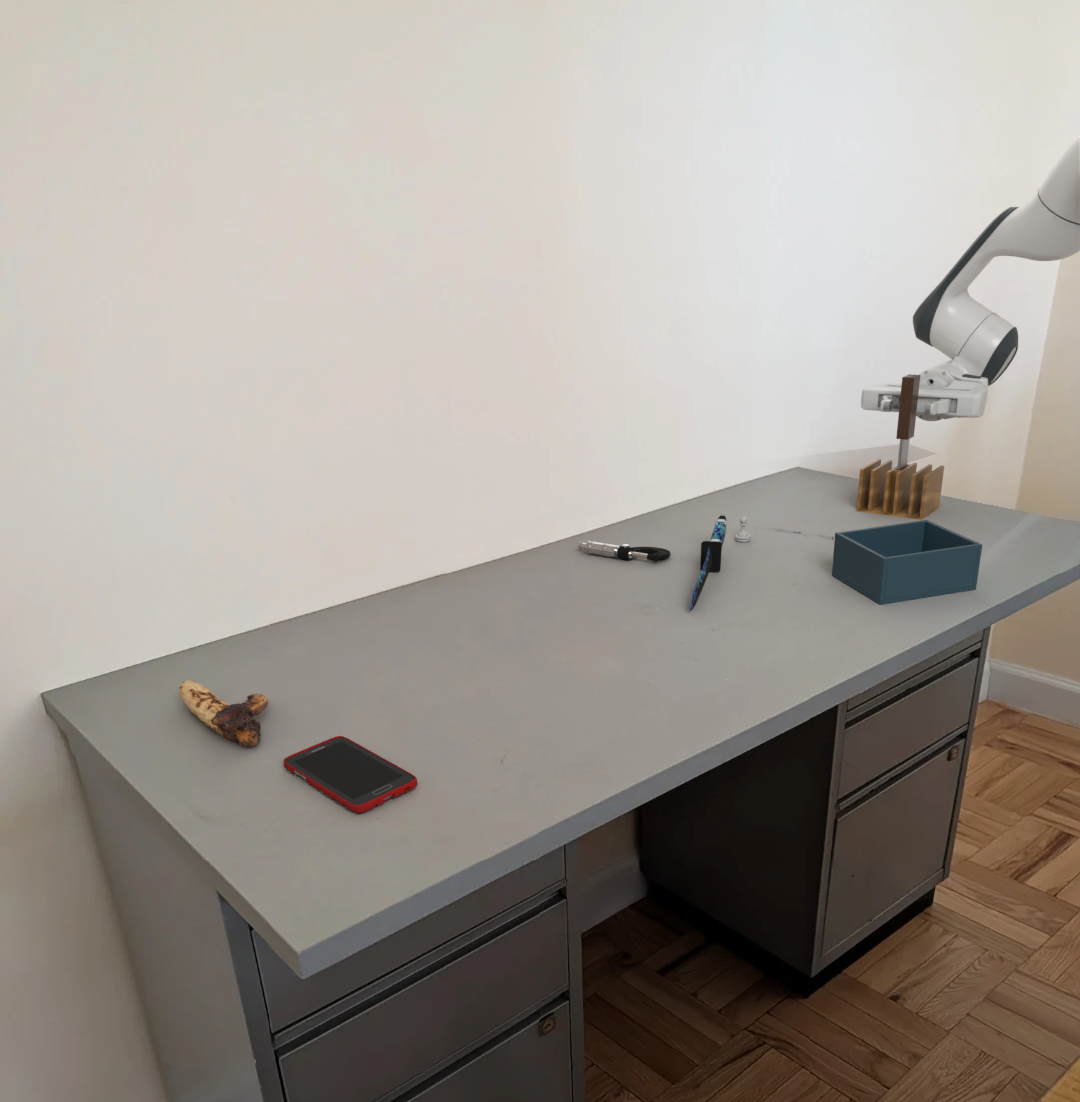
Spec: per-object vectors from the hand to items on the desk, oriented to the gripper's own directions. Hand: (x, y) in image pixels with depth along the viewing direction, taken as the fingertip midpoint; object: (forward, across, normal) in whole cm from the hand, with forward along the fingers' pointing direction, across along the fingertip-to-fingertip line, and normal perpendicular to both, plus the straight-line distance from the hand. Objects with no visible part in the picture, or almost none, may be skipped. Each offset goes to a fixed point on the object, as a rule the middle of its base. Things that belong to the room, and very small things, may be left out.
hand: (906, 408), depth 172 cm
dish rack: (-1, 0, +18) cm, 18 cm away
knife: (+44, -12, +18) cm, 49 cm away
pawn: (+24, -17, +18) cm, 35 cm away
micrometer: (+40, -29, +18) cm, 53 cm away
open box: (+32, +13, +18) cm, 39 cm away
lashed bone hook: (+114, -36, +18) cm, 120 cm away
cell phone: (+115, -14, +18) cm, 118 cm away
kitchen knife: (-1, 0, +17) cm, 17 cm away
